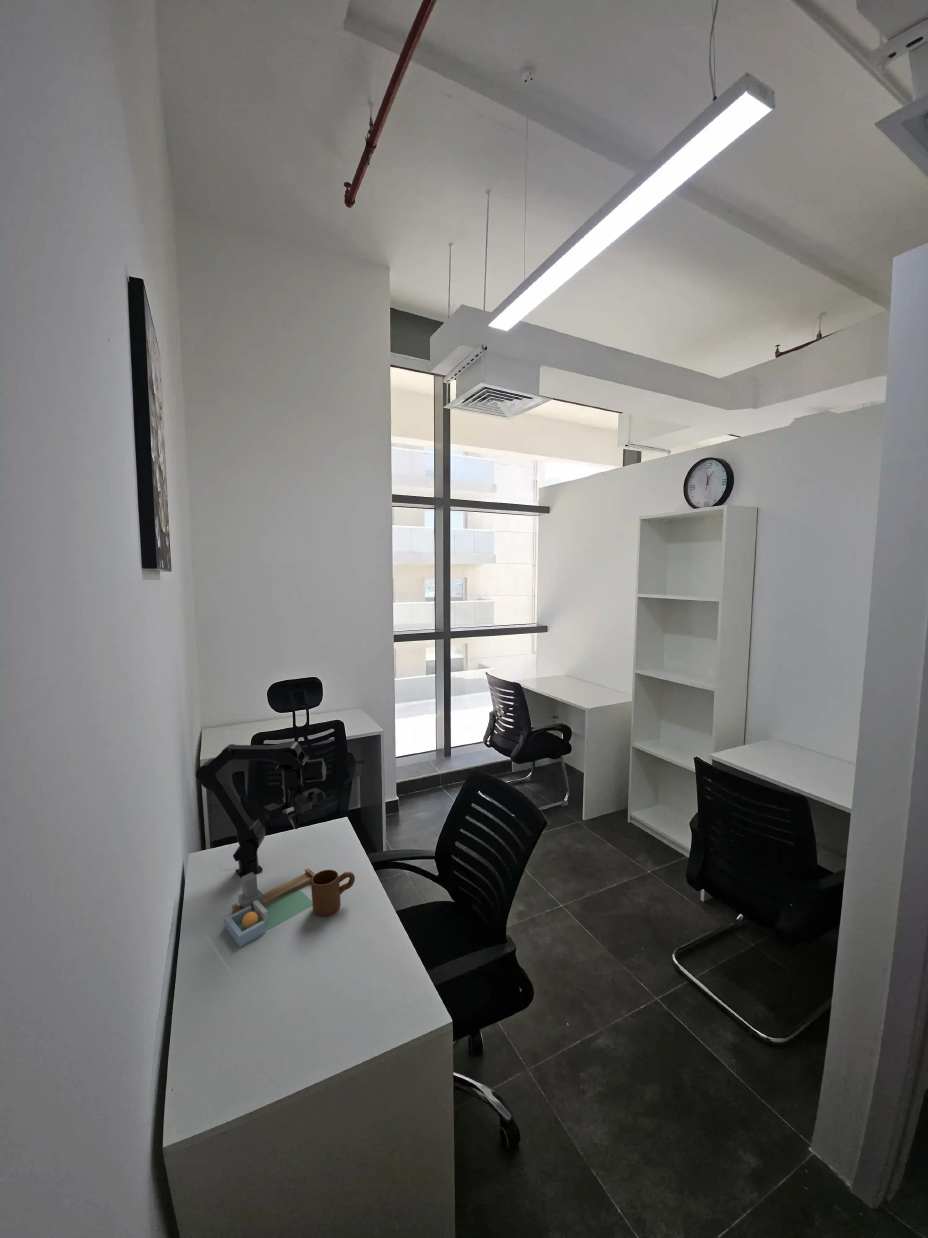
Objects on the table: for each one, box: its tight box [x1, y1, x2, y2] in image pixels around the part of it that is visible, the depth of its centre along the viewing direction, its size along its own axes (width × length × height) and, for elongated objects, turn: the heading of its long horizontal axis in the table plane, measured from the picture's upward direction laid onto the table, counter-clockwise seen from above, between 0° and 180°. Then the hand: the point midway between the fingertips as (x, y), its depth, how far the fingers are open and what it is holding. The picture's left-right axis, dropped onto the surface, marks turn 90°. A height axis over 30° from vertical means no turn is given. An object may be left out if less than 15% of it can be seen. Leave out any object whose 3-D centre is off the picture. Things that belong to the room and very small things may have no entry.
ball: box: [242, 912, 258, 929], centre depth 130 cm, size 4×4×4 cm
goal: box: [224, 906, 267, 948], centre depth 129 cm, size 10×7×3 cm, turn 45°
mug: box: [310, 869, 356, 918], centre depth 137 cm, size 12×8×9 cm, turn 112°
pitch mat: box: [237, 889, 313, 932], centre depth 135 cm, size 10×21×1 cm, turn 135°
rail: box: [231, 867, 316, 914], centre depth 143 cm, size 5×23×2 cm, turn 135°
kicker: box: [237, 872, 268, 923], centre depth 135 cm, size 12×5×9 cm, turn 45°
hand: (296, 828), depth 156 cm, fingers closed
